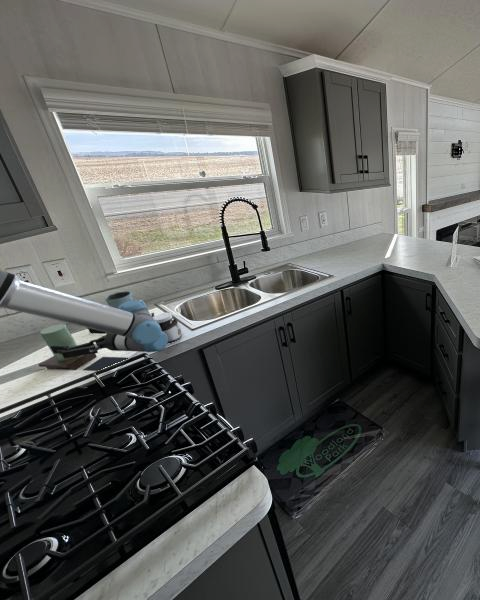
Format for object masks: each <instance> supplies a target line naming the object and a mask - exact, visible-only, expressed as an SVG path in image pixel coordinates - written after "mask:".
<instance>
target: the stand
mask: <svg viewBox="0 0 480 600" xmlns="http://www.w3.org/2000/svg"><path fill="white" fill-rule="evenodd" d="M95 358H97V355H96V354H87V355H81V356H76V357H73V358H70V359H67V360H63V361H57V360H56V358H55V357H54V355H53V356H51V357H49V358H47V359H45V360H43V361H41V362H40V363H38V364H37V365H38V366H39V367H40V368H46V370H59V371H76V370H79V369H80V368H81V367H83V366H85V365H86V364H88V363H89V362H91V361H92V360H94V359H95Z"/></svg>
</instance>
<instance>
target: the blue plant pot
mask: <svg viewBox="0 0 480 600" xmlns="http://www.w3.org/2000/svg"><path fill="white" fill-rule="evenodd" d="M131 300H134V298H133V294H132V292H131V291H128V290H125V291H117V292H114V293H111V294H108V295H106V297H104V301H106V303H107V306H110V307H113V308H117V309H118V307H119V306H120V305H121V304H123V303H125V302H128V301H131Z"/></svg>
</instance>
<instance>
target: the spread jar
mask: <svg viewBox="0 0 480 600" xmlns="http://www.w3.org/2000/svg"><path fill="white" fill-rule="evenodd" d="M153 318H154V320H155V321H156V322H157V323H158V324H159V325H160V328H161V330H162V332H164V333H165V334H166V335H167V337H168V343H170V344H173V343H172V342H174V343H176V342H178V341H179V340H180V339H181V337H182V328H181V325H180V322H179V321H178V319H177V318H176V317H174V316H173V315H172V313H171V312H161V313H158V314H156V315H154V317H153ZM177 340H178V341H177ZM175 341H176V342H175ZM168 343H167V345H169V344H168Z"/></svg>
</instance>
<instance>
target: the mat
mask: <svg viewBox="0 0 480 600" xmlns="http://www.w3.org/2000/svg"><path fill="white" fill-rule="evenodd" d="M128 358H129V357H122V356H121V357H119V356H102V357H100V358H99V359H97V360H95V361H94V362H93V363H91V364H89V365H88V366H86V367H85V368H83V369H82V371H85V372H88V371H89V372H99V371H98V370H101V369H103V368H105V367H108V366H111V365H113V364H115V363H118V362H121V361H123V360H126V359H128Z"/></svg>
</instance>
